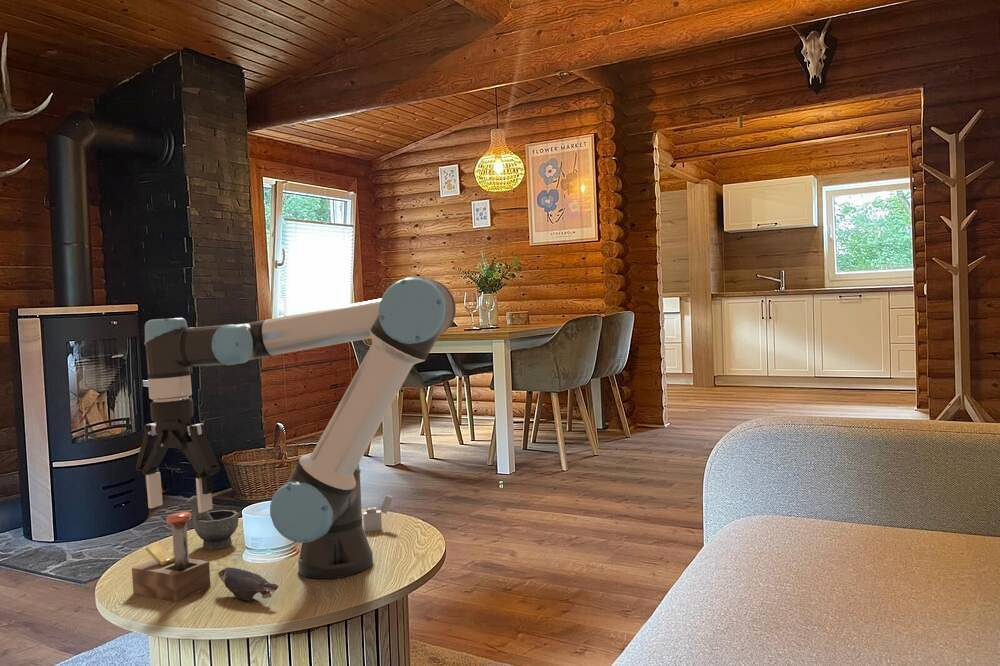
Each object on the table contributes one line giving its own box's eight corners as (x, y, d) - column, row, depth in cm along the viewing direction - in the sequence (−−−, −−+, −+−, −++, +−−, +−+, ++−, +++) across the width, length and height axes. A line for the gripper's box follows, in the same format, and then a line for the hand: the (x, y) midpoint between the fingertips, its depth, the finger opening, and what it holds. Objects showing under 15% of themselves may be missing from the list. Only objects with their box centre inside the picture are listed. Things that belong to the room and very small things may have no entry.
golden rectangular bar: (174, 562, 150) (176, 558, 150) (161, 567, 148) (162, 564, 147) (158, 545, 152) (160, 541, 152) (144, 549, 149) (146, 546, 149)
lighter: (364, 532, 182) (363, 498, 182) (363, 530, 184) (362, 497, 183) (394, 528, 184) (392, 495, 184) (393, 526, 186) (391, 493, 185)
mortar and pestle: (240, 536, 183) (238, 487, 182) (238, 548, 174) (235, 496, 173) (190, 542, 180) (187, 492, 179) (185, 554, 171) (182, 501, 170)
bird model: (266, 610, 136) (264, 583, 136) (208, 594, 146) (207, 568, 145) (285, 602, 140) (284, 575, 140) (228, 586, 149) (227, 561, 149)
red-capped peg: (200, 589, 148) (196, 513, 148) (182, 597, 144) (177, 519, 144) (184, 586, 150) (180, 511, 150) (166, 594, 146) (161, 517, 146)
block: (210, 586, 150) (209, 561, 150) (176, 601, 143) (175, 575, 142) (167, 579, 155) (166, 554, 155) (133, 593, 148) (131, 567, 148)
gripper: (234, 395, 144) (242, 507, 145) (143, 396, 155) (152, 499, 156) (202, 401, 137) (211, 518, 138) (110, 401, 148) (119, 509, 149)
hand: (180, 508), depth 147 cm, fingers open, 13 cm apart
